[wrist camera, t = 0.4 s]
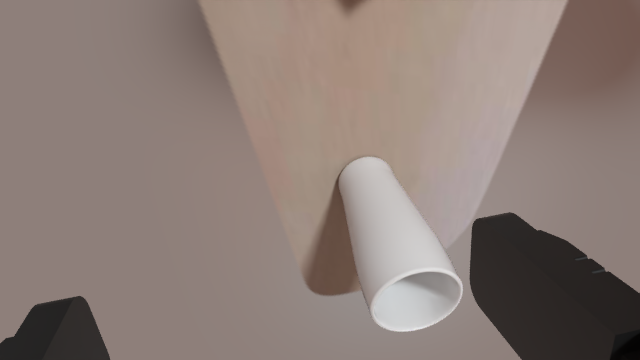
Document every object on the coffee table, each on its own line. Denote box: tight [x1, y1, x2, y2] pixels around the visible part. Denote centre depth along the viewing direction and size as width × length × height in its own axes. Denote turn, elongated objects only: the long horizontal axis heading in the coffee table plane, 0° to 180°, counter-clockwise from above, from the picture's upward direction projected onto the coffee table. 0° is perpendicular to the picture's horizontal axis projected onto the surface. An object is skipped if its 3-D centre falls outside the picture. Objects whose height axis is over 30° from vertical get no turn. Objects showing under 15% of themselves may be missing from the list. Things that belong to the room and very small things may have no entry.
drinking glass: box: [338, 157, 463, 332], centre depth 36 cm, size 7×7×15 cm
